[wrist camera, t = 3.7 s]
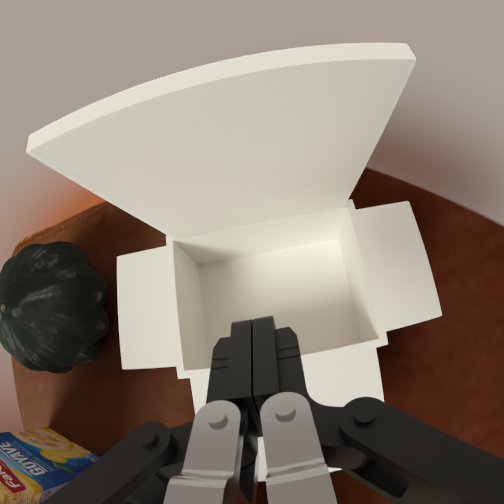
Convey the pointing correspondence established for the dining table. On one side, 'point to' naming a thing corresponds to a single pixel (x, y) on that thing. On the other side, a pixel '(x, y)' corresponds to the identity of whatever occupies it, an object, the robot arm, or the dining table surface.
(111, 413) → the dining table surface
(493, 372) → the dining table surface
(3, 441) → the blue tall printed box
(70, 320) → the squash
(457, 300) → the dining table surface
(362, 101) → the flap
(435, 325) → the dining table surface
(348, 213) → the carton
